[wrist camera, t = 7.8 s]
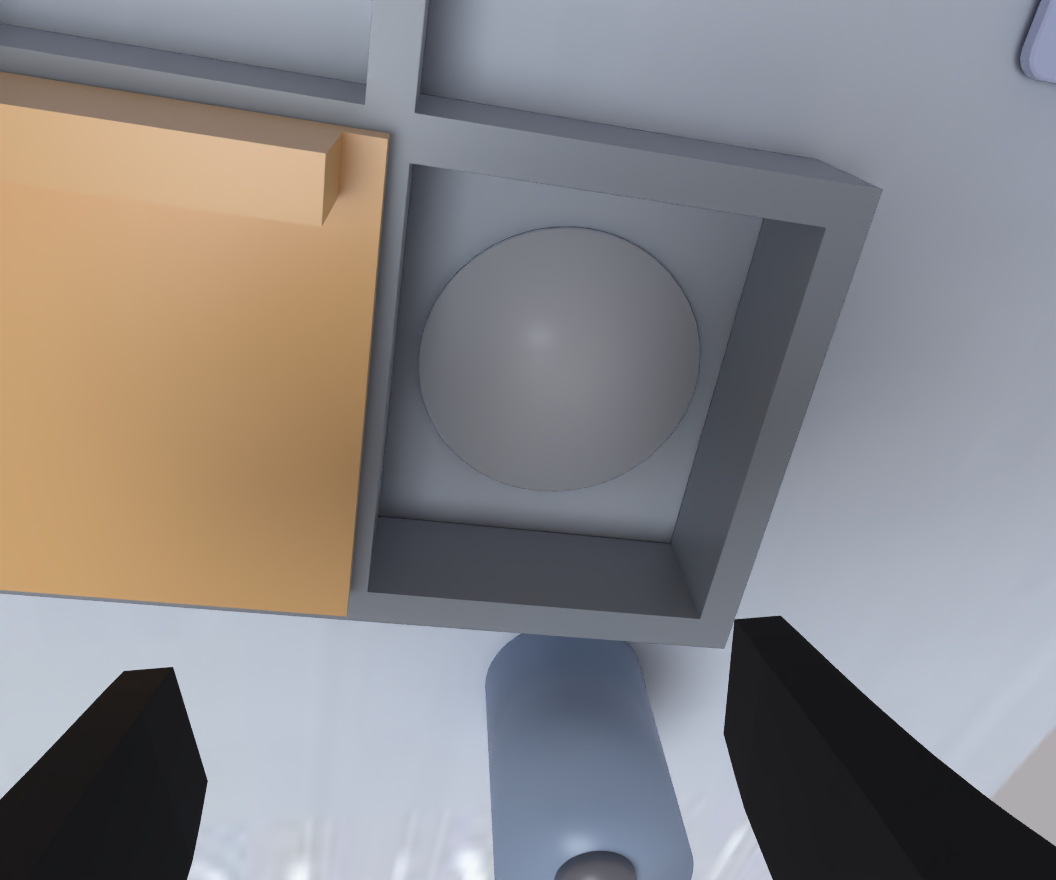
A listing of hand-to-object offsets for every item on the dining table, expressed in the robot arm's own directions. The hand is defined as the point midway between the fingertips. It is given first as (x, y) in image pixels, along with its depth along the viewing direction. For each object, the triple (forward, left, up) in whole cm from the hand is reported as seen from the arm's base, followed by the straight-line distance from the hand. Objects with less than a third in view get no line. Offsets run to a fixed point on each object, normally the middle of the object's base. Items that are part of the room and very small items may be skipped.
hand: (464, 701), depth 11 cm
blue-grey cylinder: (-4, +8, -10) cm, 14 cm away
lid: (+6, -1, -6) cm, 9 cm away
